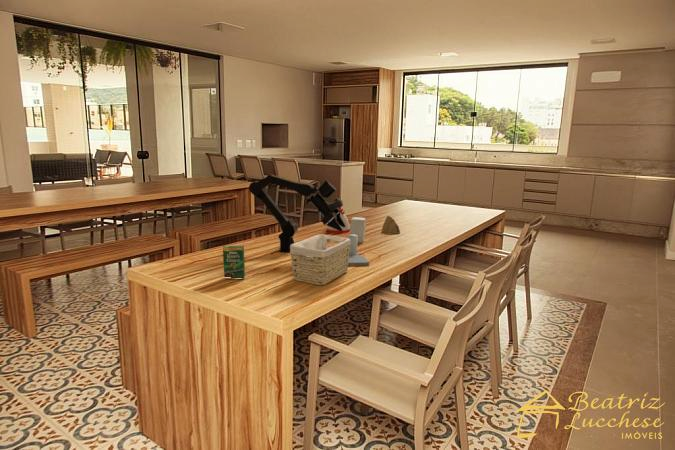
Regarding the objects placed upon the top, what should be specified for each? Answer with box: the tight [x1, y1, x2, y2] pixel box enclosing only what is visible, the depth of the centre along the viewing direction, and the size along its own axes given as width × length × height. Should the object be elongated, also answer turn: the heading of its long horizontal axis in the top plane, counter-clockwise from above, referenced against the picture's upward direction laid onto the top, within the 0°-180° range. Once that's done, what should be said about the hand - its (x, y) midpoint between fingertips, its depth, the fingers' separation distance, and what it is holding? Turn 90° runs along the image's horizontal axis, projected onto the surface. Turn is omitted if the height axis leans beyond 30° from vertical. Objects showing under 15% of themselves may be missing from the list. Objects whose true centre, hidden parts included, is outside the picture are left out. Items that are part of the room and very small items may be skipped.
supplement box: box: [349, 216, 367, 244], centre depth 238 cm, size 7×7×13 cm
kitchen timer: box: [326, 207, 351, 234], centre depth 262 cm, size 14×14×15 cm
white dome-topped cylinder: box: [347, 234, 359, 255], centre depth 209 cm, size 4×4×10 cm
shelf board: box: [348, 254, 370, 267], centre depth 199 cm, size 14×12×2 cm
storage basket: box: [289, 233, 351, 286], centre depth 177 cm, size 24×16×15 cm
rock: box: [380, 215, 401, 234], centre depth 261 cm, size 11×9×10 cm
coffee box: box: [222, 245, 246, 279], centre depth 170 cm, size 8×3×13 cm, turn 90°
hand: (343, 228), depth 208 cm, fingers open, 9 cm apart
